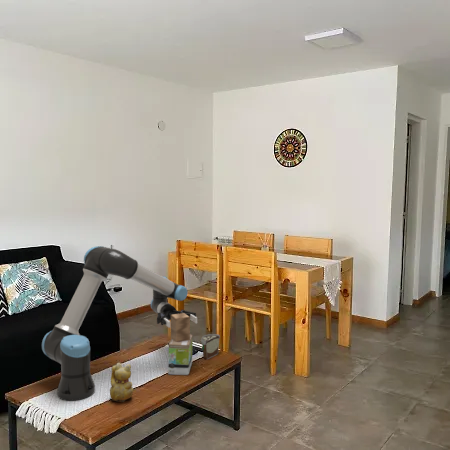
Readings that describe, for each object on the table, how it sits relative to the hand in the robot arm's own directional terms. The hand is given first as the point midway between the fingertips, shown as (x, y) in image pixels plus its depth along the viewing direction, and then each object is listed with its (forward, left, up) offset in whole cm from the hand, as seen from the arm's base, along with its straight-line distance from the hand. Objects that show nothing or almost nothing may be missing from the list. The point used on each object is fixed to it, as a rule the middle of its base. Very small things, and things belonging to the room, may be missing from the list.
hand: (183, 322), depth 219 cm
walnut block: (0, +3, -9) cm, 9 cm away
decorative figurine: (-34, -15, -24) cm, 44 cm away
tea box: (0, +3, -24) cm, 24 cm away
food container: (+19, +12, -24) cm, 33 cm away
